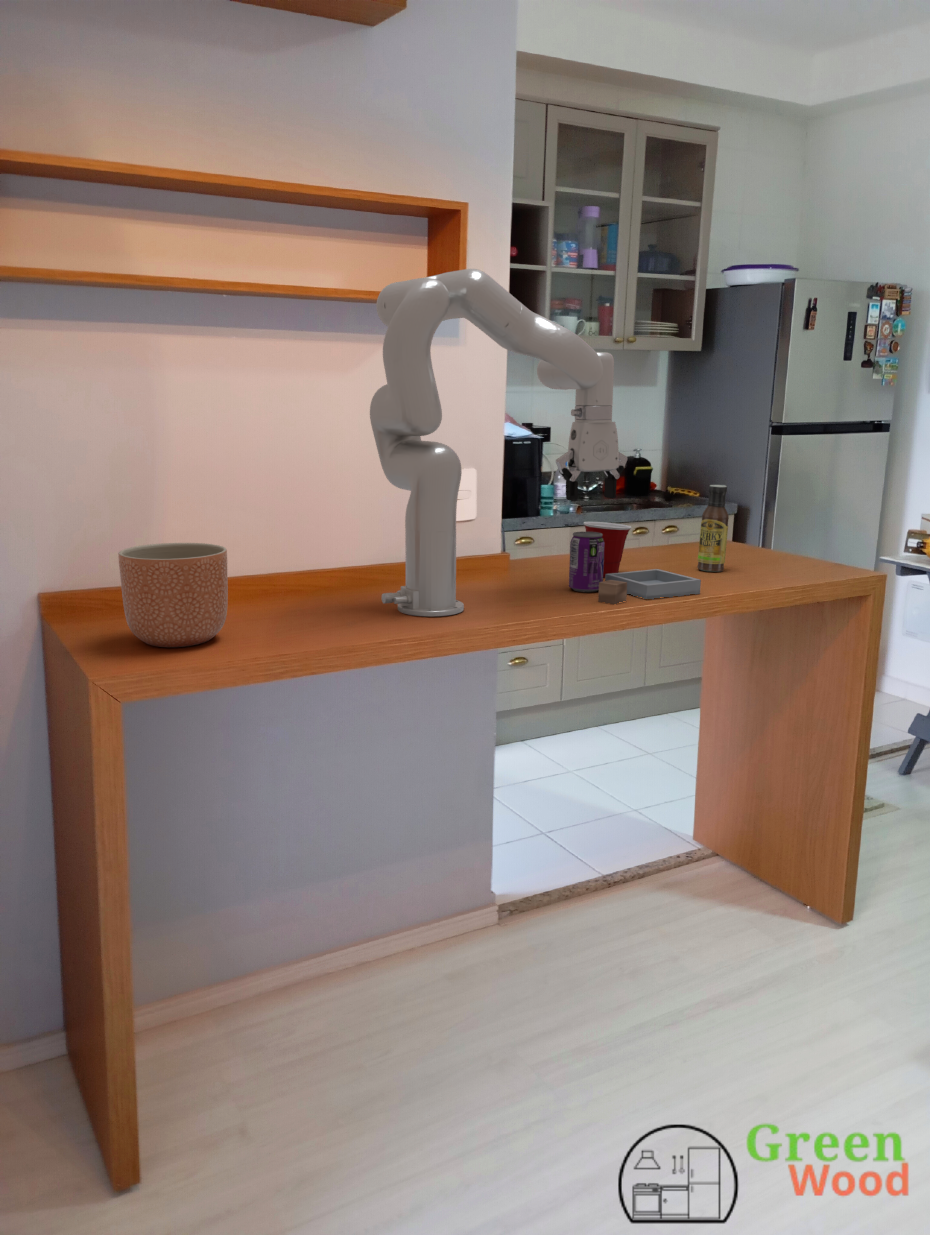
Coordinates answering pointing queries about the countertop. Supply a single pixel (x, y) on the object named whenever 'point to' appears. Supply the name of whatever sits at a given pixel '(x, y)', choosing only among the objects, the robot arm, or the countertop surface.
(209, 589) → the planter
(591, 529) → the plastic cup
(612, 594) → the walnut block
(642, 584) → the tray
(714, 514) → the sauce bottle
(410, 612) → the robot arm
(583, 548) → the beverage can
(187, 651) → the countertop surface
